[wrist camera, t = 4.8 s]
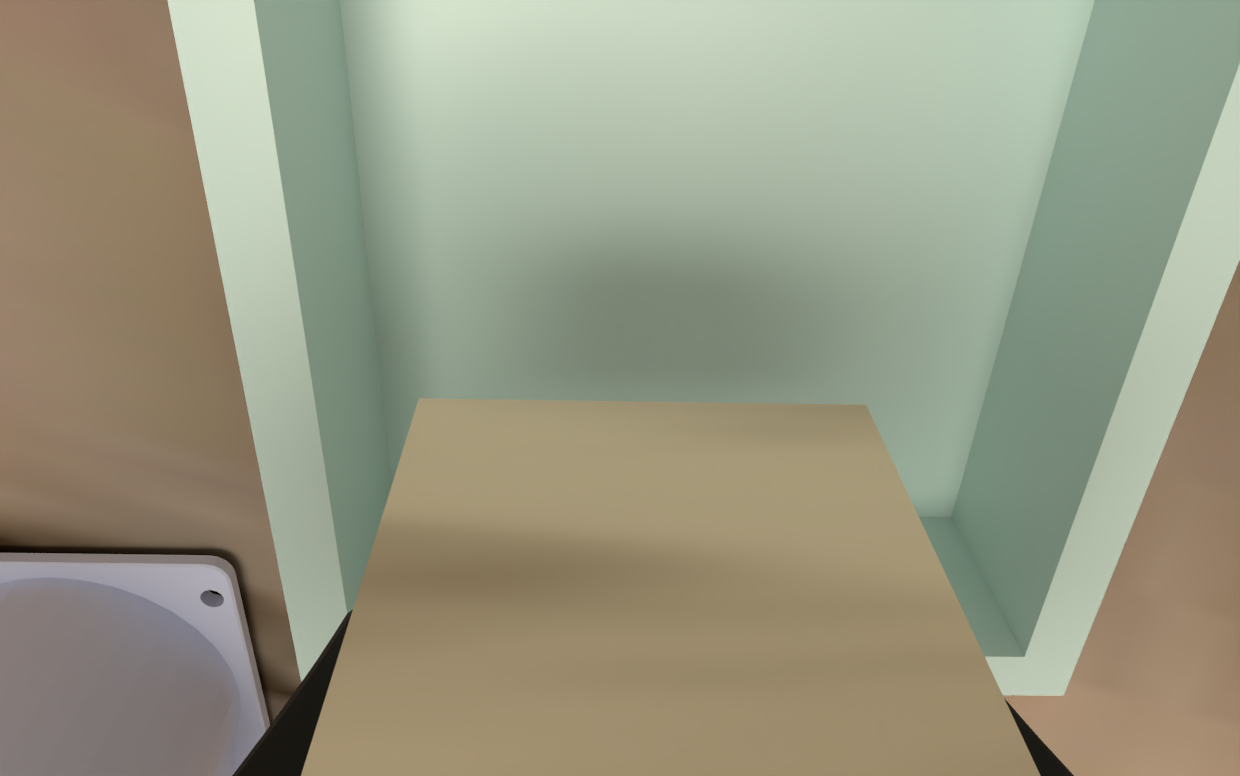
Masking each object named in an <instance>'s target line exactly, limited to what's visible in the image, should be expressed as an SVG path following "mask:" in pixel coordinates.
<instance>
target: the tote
mask: <svg viewBox="0 0 1240 776" xmlns="http://www.w3.org/2000/svg"><path fill="white" fill-rule="evenodd" d="M168 5H169V11H170V16H171V21H172V26H173V31H174V36H175V41H176V46H177V51H178V56H179V62H180V67H181V72H182V77H183V82H184V87H185V92H186V97H187V102H188V107H189V112H190V118H191V123H192V128H193V133H194V138H195V143H196V148H197V153H198V158H199V163H200V169H201V174H202V179H203V184H204V189H205V194H206V199H207V204H208V209H209V214H210V220H211V225H212V230H213V235H214V240H215V245H216V250H217V255H218V260H219V265H220V271H221V276H222V281H223V286H224V291H225V296H226V301H227V306H228V311H229V316H230V322H231V327H232V332H233V337H234V342H235V347H236V352H237V357H238V362H239V367H240V373H241V378H242V383H243V388H244V393H245V398H246V403H247V408H248V413H249V418H250V424H251V429H252V434H253V439H254V444H255V449H256V454H257V459H258V464H259V469H260V475H261V480H262V485H263V490H264V495H265V500H266V505H267V510H268V515H269V520H270V526H271V531H272V536H273V541H274V546H275V551H276V556H277V561H278V566H279V571H280V577H281V582H282V587H283V592H284V597H285V602H286V607H287V612H288V617H289V622H290V627H291V633H292V638H293V643H294V648H295V653H296V658H297V663H298V668H299V673H300V678H301V682H302V681H303V680H304V678H305V677H306V675H307V674H308V672H309V671H310V669H311V668H312V666H313V665H314V664H315V662H316V661H317V659H318V658H319V656H320V655H321V653H322V652H323V650H324V649H325V647H326V646H327V644H328V643H329V641H330V640H331V638H332V636H333V635H334V633H335V632H336V630H337V629H338V627H339V626H340V624H341V622H342V621H343V619H344V618H345V616H346V615H347V613H348V612H350V611H351V610H352V609H353V608H354V604H355V601H356V598H357V595H358V592H359V588H360V585H361V582H362V579H363V576H364V572H365V569H366V566H367V563H368V560H369V556H370V553H371V550H372V547H373V544H374V540H375V537H376V534H377V531H378V528H379V524H380V521H381V518H382V515H383V512H384V508H385V505H386V502H387V499H388V496H389V492H390V489H391V486H392V483H393V480H394V476H395V473H396V470H397V467H398V464H399V460H400V457H401V454H402V451H403V448H404V445H405V441H406V438H407V435H408V432H409V429H410V425H411V422H412V419H413V416H414V413H415V409H416V406H417V403H418V400H419V398H423V399H495V400H567V401H639V402H710V403H782V404H854V405H866V406H867V408H868V410H869V412H870V414H871V416H872V418H873V421H874V423H875V425H876V427H877V429H878V431H879V433H880V435H881V438H882V440H883V442H884V444H885V446H886V448H887V450H888V452H889V455H890V457H891V459H892V461H893V463H894V465H895V467H896V469H897V472H898V474H899V476H900V478H901V480H902V482H903V484H904V486H905V489H906V491H907V493H908V495H909V497H910V499H911V501H912V503H913V506H914V508H915V510H916V512H917V514H918V516H919V518H920V520H921V523H922V525H923V527H924V529H925V531H926V533H927V535H928V537H929V540H930V542H931V544H932V546H933V548H934V550H935V552H936V554H937V557H938V559H939V561H940V563H941V565H942V567H943V569H944V572H945V574H946V576H947V578H948V580H949V582H950V584H951V586H952V589H953V591H954V593H955V595H956V597H957V599H958V601H959V603H960V606H961V608H962V610H963V612H964V614H965V616H966V618H967V620H968V623H969V625H970V627H971V629H972V631H973V633H974V635H975V637H976V640H977V642H978V644H979V646H980V648H981V650H982V652H983V654H984V657H985V659H986V661H987V663H988V665H989V667H990V669H991V671H992V674H993V676H994V678H995V680H996V682H997V684H998V686H999V688H1000V691H1001V693H1002V695H1047V696H1063V695H1064V693H1065V690H1066V688H1067V685H1068V683H1069V680H1070V678H1071V676H1072V673H1073V671H1074V668H1075V666H1076V663H1077V661H1078V658H1079V656H1080V653H1081V651H1082V648H1083V646H1084V643H1085V641H1086V638H1087V636H1088V633H1089V631H1090V629H1091V626H1092V624H1093V621H1094V619H1095V616H1096V614H1097V611H1098V609H1099V606H1100V604H1101V601H1102V599H1103V596H1104V594H1105V591H1106V589H1107V586H1108V584H1109V582H1110V579H1111V577H1112V574H1113V572H1114V569H1115V567H1116V564H1117V562H1118V559H1119V557H1120V554H1121V552H1122V549H1123V547H1124V544H1125V542H1126V539H1127V537H1128V535H1129V532H1130V530H1131V527H1132V525H1133V522H1134V520H1135V517H1136V515H1137V512H1138V510H1139V507H1140V505H1141V502H1142V500H1143V497H1144V495H1145V492H1146V490H1147V488H1148V485H1149V483H1150V480H1151V478H1152V475H1153V473H1154V470H1155V468H1156V465H1157V463H1158V460H1159V458H1160V455H1161V453H1162V450H1163V448H1164V445H1165V443H1166V441H1167V438H1168V436H1169V433H1170V431H1171V428H1172V426H1173V423H1174V421H1175V418H1176V416H1177V413H1178V411H1179V408H1180V406H1181V403H1182V401H1183V398H1184V396H1185V394H1186V391H1187V389H1188V386H1189V384H1190V381H1191V379H1192V376H1193V374H1194V371H1195V369H1196V366H1197V364H1198V361H1199V359H1200V356H1201V354H1202V351H1203V349H1204V347H1205V344H1206V342H1207V339H1208V337H1209V334H1210V332H1211V329H1212V327H1213V324H1214V322H1215V319H1216V317H1217V314H1218V312H1219V309H1220V307H1221V305H1222V302H1223V300H1224V297H1225V295H1226V292H1227V290H1228V287H1229V285H1230V282H1231V280H1232V277H1233V275H1234V272H1235V270H1236V267H1237V265H1238V262H1239V260H1240V0H168Z"/></svg>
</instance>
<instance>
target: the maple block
mask: <svg viewBox="0 0 1240 776" xmlns="http://www.w3.org/2000/svg"><path fill="white" fill-rule="evenodd" d="M301 776H1040V773H1039V771H1038V769H1037V767H1036V765H1035V763H1034V761H1033V759H1032V756H1031V754H1030V752H1029V750H1028V748H1027V746H1026V744H1025V742H1024V739H1023V737H1022V735H1021V733H1020V731H1019V729H1018V727H1017V725H1016V722H1015V720H1014V718H1013V716H1012V714H1011V712H1010V710H1009V708H1008V705H1007V703H1006V701H1005V699H1004V697H1003V695H1002V693H1001V691H1000V688H999V686H998V684H997V682H996V680H995V678H994V676H993V674H992V671H991V669H990V667H989V665H988V663H987V661H986V659H985V657H984V654H983V652H982V650H981V648H980V646H979V644H978V642H977V640H976V637H975V635H974V633H973V631H972V629H971V627H970V625H969V623H968V620H967V618H966V616H965V614H964V612H963V610H962V608H961V606H960V603H959V601H958V599H957V597H956V595H955V593H954V591H953V589H952V586H951V584H950V582H949V580H948V578H947V576H946V574H945V572H944V569H943V567H942V565H941V563H940V561H939V559H938V557H937V554H936V552H935V550H934V548H933V546H932V544H931V542H930V540H929V537H928V535H927V533H926V531H925V529H924V527H923V525H922V523H921V520H920V518H919V516H918V514H917V512H916V510H915V508H914V506H913V503H912V501H911V499H910V497H909V495H908V493H907V491H906V489H905V486H904V484H903V482H902V480H901V478H900V476H899V474H898V472H897V469H896V467H895V465H894V463H893V461H892V459H891V457H890V455H889V452H888V450H887V448H886V446H885V444H884V442H883V440H882V438H881V435H880V433H879V431H878V429H877V427H876V425H875V423H874V421H873V418H872V416H871V414H870V412H869V410H868V408H867V406H866V405H854V404H782V403H710V402H639V401H567V400H495V399H423V398H419V400H418V403H417V406H416V409H415V413H414V416H413V419H412V422H411V425H410V429H409V432H408V435H407V438H406V441H405V445H404V448H403V451H402V454H401V457H400V460H399V464H398V467H397V470H396V473H395V476H394V480H393V483H392V486H391V489H390V492H389V496H388V499H387V502H386V505H385V508H384V512H383V515H382V518H381V521H380V524H379V528H378V531H377V534H376V537H375V540H374V544H373V547H372V550H371V553H370V556H369V560H368V563H367V566H366V569H365V572H364V576H363V579H362V582H361V585H360V588H359V592H358V595H357V598H356V601H355V604H354V608H353V611H352V614H351V617H350V620H349V623H348V627H347V630H346V633H345V636H344V639H343V643H342V646H341V649H340V652H339V655H338V659H337V662H336V665H335V668H334V671H333V675H332V678H331V681H330V684H329V687H328V691H327V694H326V697H325V700H324V703H323V707H322V710H321V713H320V716H319V719H318V723H317V726H316V729H315V732H314V735H313V739H312V742H311V745H310V748H309V751H308V755H307V758H306V761H305V764H304V767H303V771H302V774H301Z"/></svg>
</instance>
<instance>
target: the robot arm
mask: <svg viewBox="0 0 1240 776" xmlns="http://www.w3.org/2000/svg"><path fill="white" fill-rule="evenodd" d="M209 590H213V591H217V592H218V593H220V594H221V595H216V594H213V593H212V592H210V591H209ZM352 611H353V609H352V610H351V611H350V612H348V613H347V615H346V616H345V618H344V619H343V621H342V622H341V624H340V626H339V627H338V629H337V630H336V632H335V633H334V635H333V636H332V638H331V640H330V641H329V643H328V644H327V646H326V647H325V649H324V650H323V652H322V653H321V655H320V656H319V658H318V659H317V661H316V662H315V664H314V665H313V666H312V668H311V669H310V671H309V672H308V674H307V675H306V677H305V678H304V680H303V681H302V682H301V684H300V685H299V687H298V688H297V689H296V691H295V692H294V694H293V695H292V696H291V698H290V699H289V701H288V702H287V703H286V705H285V706H284V708H283V709H282V710H281V712H280V713H279V715H278V716H277V717H276V719H275V720H274V721H273V722H272V724H271V725H270V722H269V717H268V713H267V709H266V704H265V700H264V696H263V691H262V687H261V682H260V678H259V674H258V669H257V665H256V660H255V656H254V652H253V647H252V643H251V638H250V634H249V630H248V625H247V621H246V617H245V612H244V608H243V603H242V599H241V595H240V590H239V586H238V581H237V577H236V573H235V570H234V568H233V566H232V565H231V564H230V563H229V562H227V561H226V560H224V559H222V558H220V557H217V556H211V555H144V554H65V553H0V776H301V774H302V771H303V767H304V764H305V761H306V758H307V755H308V751H309V748H310V745H311V742H312V739H313V735H314V732H315V729H316V726H317V723H318V719H319V716H320V713H321V710H322V707H323V703H324V700H325V697H326V694H327V691H328V687H329V684H330V681H331V678H332V675H333V671H334V668H335V665H336V662H337V659H338V655H339V652H340V649H341V646H342V643H343V639H344V636H345V633H346V630H347V627H348V623H349V620H350V617H351V614H352ZM1004 699H1005V698H1004ZM1005 701H1006V700H1005ZM1006 703H1007V705H1008V708H1009V710H1010V712H1011V714H1012V716H1013V718H1014V720H1015V722H1016V725H1017V727H1018V729H1019V731H1020V733H1021V735H1022V737H1023V739H1024V742H1025V744H1026V746H1027V748H1028V750H1029V752H1030V754H1031V756H1032V759H1033V761H1034V763H1035V765H1036V767H1037V769H1038V771H1039V773H1040V776H1074V775H1073V774H1072V773H1071V772H1070V771H1069V770H1068V769H1067V768H1066V767H1065V766H1064V765H1063V763H1062V762H1061V761H1060V760H1059V759H1058V758H1057V757H1056V756H1055V755H1054V754H1053V752H1052V751H1051V750H1050V749H1049V748H1048V747H1047V746H1046V745H1045V744H1044V743H1043V742H1042V740H1041V739H1040V738H1039V737H1038V736H1037V735H1036V734H1035V733H1034V732H1033V730H1032V729H1031V728H1030V727H1029V726H1028V725H1027V724H1026V723H1025V721H1024V720H1023V719H1022V718H1021V717H1020V716H1019V715H1018V713H1017V712H1016V711H1015V710H1014V709H1013V708H1012V706H1011V705H1010V704H1009V703H1008V702H1007V701H1006Z"/></svg>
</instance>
